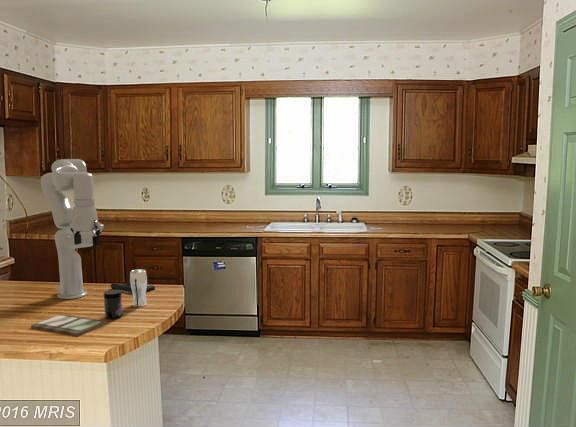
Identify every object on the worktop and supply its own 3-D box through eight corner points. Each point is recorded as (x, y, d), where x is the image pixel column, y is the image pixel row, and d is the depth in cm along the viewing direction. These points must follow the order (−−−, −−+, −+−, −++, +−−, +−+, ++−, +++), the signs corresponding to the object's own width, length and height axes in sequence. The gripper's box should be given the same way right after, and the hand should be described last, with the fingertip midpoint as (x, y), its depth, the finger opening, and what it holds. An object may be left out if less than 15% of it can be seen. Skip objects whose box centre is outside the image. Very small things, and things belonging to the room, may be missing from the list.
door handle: (134, 278, 249) (108, 283, 236) (162, 283, 239) (135, 289, 225) (134, 284, 250) (108, 290, 236) (162, 290, 239) (135, 296, 225)
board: (31, 327, 185) (30, 324, 185) (61, 316, 198) (60, 313, 197) (79, 336, 176) (78, 332, 175) (107, 323, 188) (106, 320, 188)
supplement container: (114, 320, 192) (113, 295, 190) (101, 318, 194) (99, 293, 193) (126, 315, 198) (124, 290, 196) (113, 313, 200) (111, 289, 199)
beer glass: (149, 301, 215) (148, 268, 214) (145, 306, 208) (144, 272, 207) (134, 302, 215) (132, 269, 213) (129, 307, 208) (127, 273, 206)
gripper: (61, 203, 197) (64, 245, 200) (94, 204, 191) (96, 247, 193) (75, 201, 204) (78, 242, 206) (107, 202, 198) (110, 244, 200)
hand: (87, 244), depth 200 cm, fingers open, 9 cm apart
